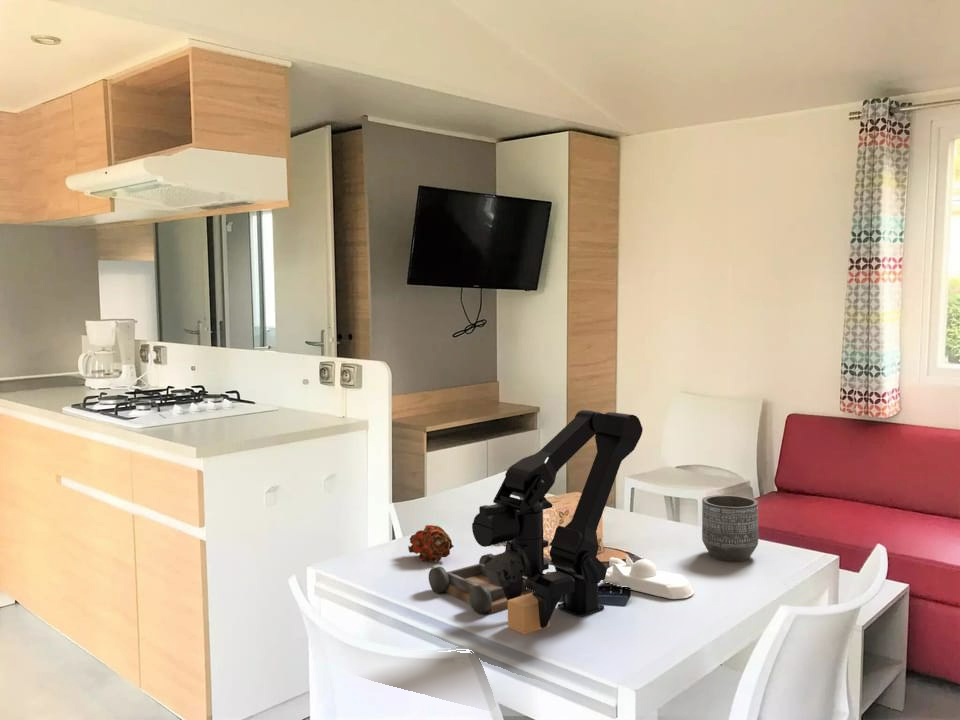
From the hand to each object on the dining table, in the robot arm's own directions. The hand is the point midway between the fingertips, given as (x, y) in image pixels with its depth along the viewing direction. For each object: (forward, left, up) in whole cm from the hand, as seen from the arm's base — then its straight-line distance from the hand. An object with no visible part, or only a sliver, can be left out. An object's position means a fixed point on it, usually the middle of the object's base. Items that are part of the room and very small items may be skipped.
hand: (528, 620), depth 145 cm
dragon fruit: (+44, -8, -1) cm, 45 cm away
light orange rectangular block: (0, 0, -1) cm, 1 cm away
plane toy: (0, -31, -2) cm, 31 cm away
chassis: (+18, -4, -1) cm, 18 cm away
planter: (+1, -61, -1) cm, 61 cm away
